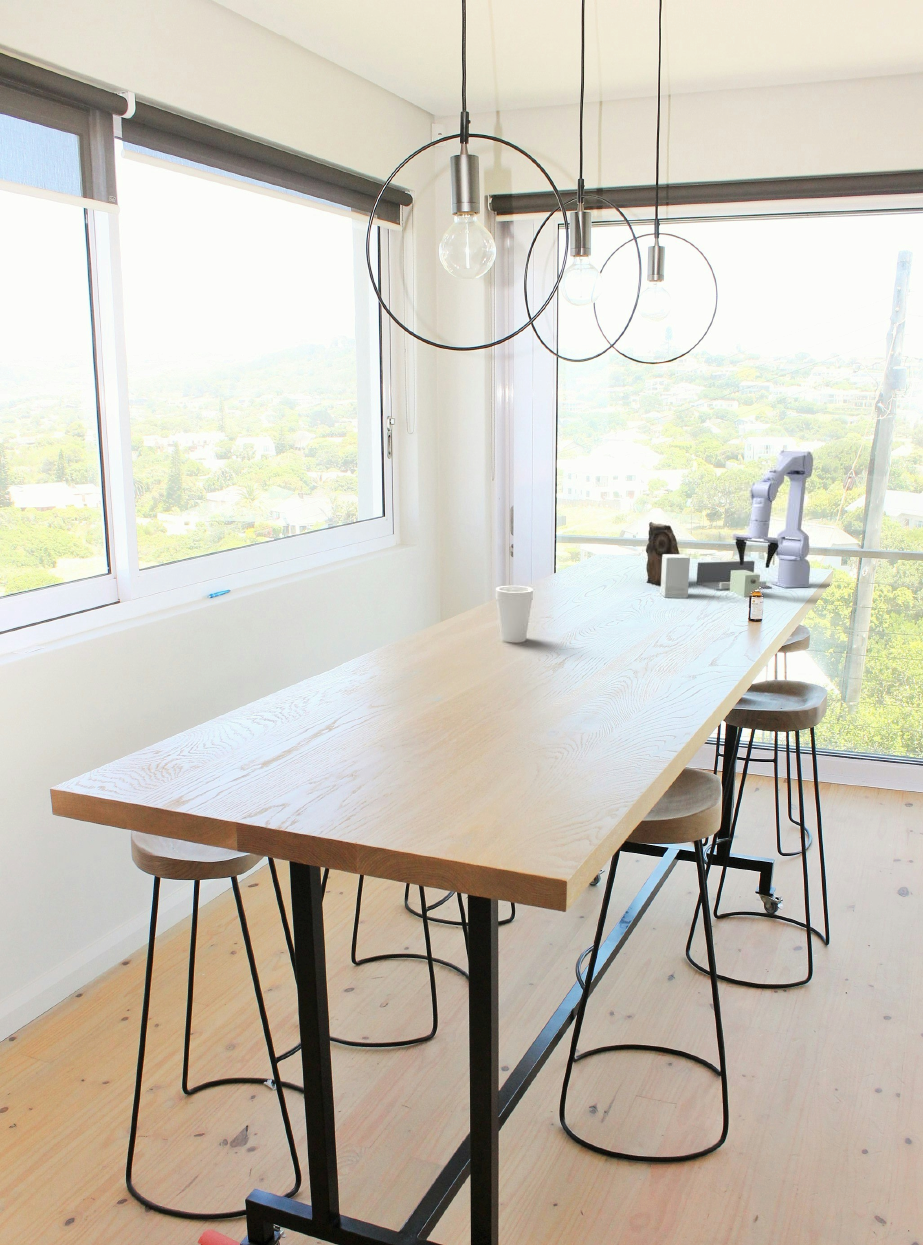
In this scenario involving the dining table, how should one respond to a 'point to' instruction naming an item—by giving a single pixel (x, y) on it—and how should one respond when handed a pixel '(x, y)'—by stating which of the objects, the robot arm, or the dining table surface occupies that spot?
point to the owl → (659, 550)
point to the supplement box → (675, 575)
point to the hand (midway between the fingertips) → (754, 566)
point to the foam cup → (514, 612)
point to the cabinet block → (744, 582)
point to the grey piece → (722, 574)
